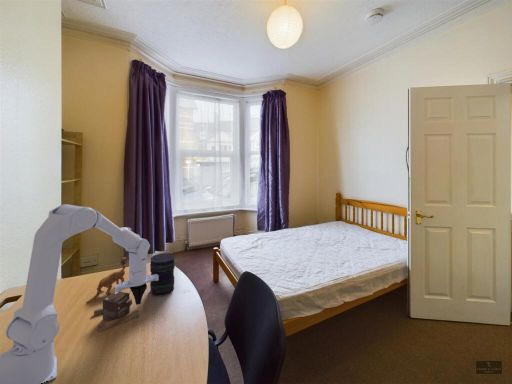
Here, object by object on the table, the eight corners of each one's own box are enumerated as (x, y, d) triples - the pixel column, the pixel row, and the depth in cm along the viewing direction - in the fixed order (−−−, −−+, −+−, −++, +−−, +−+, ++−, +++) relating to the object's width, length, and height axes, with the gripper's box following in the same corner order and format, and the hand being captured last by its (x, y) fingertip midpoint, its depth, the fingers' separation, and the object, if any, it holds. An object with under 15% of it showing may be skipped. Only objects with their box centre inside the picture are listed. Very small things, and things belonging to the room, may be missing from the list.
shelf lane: (98, 331, 71) (98, 327, 70) (94, 314, 79) (94, 310, 79) (139, 316, 79) (139, 312, 79) (131, 302, 87) (131, 298, 87)
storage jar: (173, 282, 103) (174, 252, 102) (175, 293, 94) (175, 260, 93) (150, 286, 99) (150, 254, 97) (149, 298, 90) (149, 263, 89)
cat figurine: (91, 308, 83) (88, 274, 81) (80, 303, 85) (77, 271, 84) (133, 284, 100) (131, 256, 98) (122, 281, 102) (121, 253, 100)
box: (116, 322, 75) (116, 302, 74) (102, 319, 76) (101, 299, 76) (130, 311, 81) (130, 293, 80) (116, 309, 82) (116, 290, 82)
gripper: (154, 260, 90) (154, 292, 91) (113, 270, 80) (113, 305, 81) (160, 266, 85) (160, 299, 86) (117, 277, 75) (117, 315, 76)
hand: (137, 303), depth 83 cm, fingers closed
